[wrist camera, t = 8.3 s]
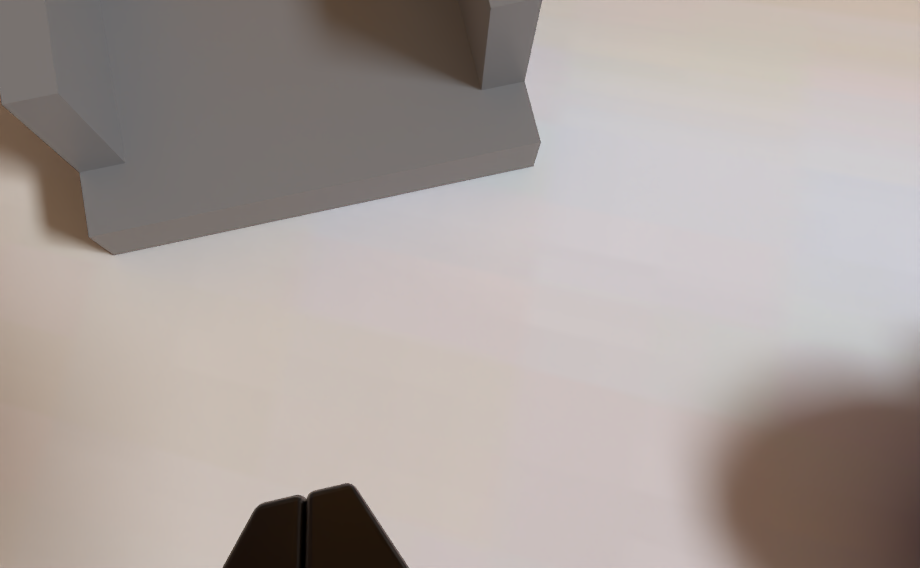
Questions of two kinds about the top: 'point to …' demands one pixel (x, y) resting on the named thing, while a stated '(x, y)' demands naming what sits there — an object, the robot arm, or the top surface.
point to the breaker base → (265, 104)
